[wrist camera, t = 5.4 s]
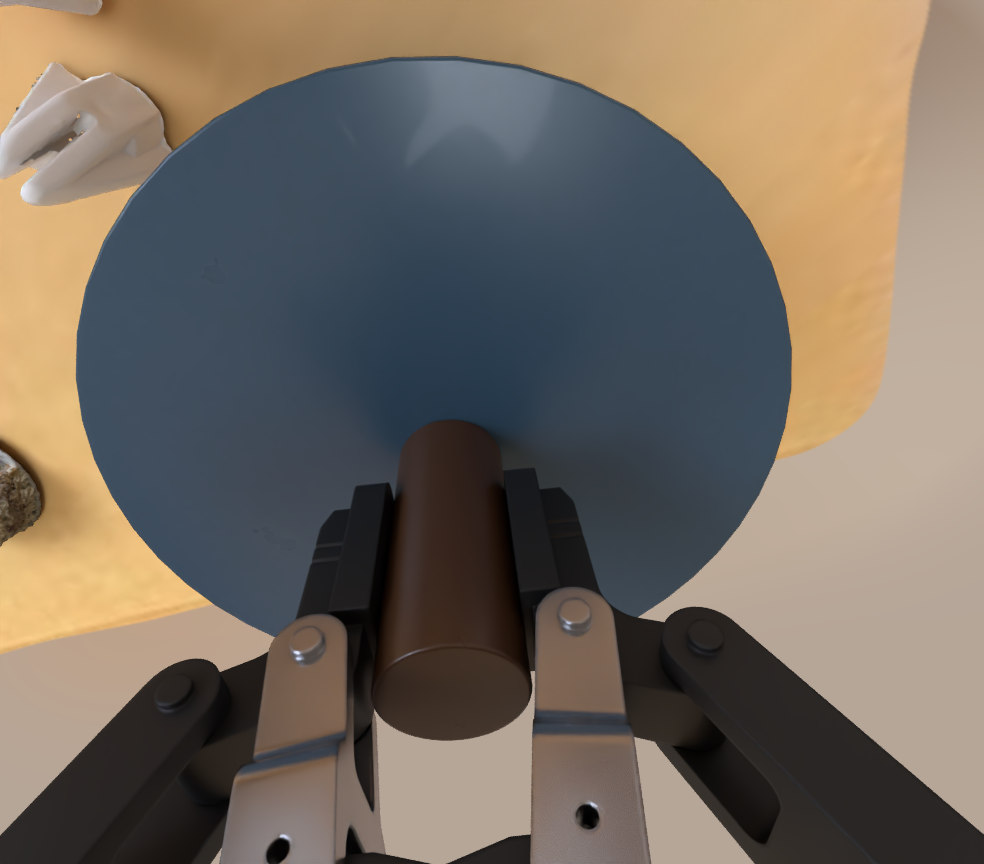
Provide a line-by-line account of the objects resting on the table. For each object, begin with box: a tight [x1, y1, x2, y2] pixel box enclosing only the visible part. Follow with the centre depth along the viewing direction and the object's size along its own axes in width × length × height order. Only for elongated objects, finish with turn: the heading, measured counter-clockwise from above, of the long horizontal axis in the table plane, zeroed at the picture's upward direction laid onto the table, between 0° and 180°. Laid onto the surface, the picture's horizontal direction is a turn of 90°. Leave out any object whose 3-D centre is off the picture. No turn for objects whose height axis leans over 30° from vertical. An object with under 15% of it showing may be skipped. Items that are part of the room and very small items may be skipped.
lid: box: [76, 56, 792, 741], centre depth 12 cm, size 17×17×8 cm
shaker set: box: [0, 0, 173, 206], centre depth 21 cm, size 12×4×11 cm, turn 11°
